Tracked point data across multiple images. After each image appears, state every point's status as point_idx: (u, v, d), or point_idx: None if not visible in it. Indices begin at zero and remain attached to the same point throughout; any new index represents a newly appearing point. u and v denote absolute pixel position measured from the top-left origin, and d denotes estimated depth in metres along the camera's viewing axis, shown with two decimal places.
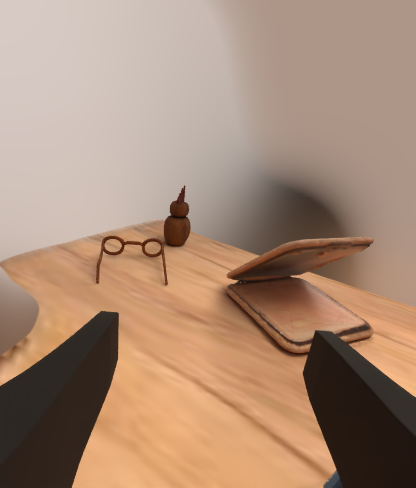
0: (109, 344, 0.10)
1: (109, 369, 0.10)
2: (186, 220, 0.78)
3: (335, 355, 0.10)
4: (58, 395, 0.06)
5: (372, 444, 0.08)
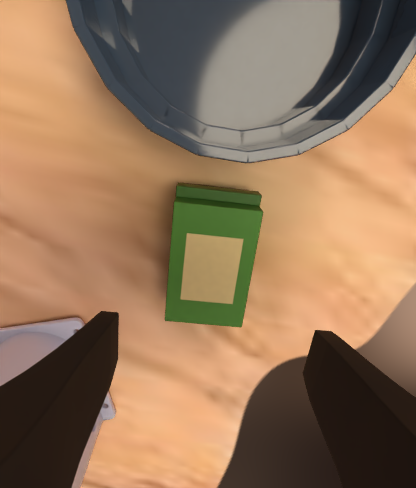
0: (109, 344, 0.10)
1: (109, 369, 0.10)
2: None
3: (334, 354, 0.10)
4: (58, 395, 0.06)
5: (372, 444, 0.08)
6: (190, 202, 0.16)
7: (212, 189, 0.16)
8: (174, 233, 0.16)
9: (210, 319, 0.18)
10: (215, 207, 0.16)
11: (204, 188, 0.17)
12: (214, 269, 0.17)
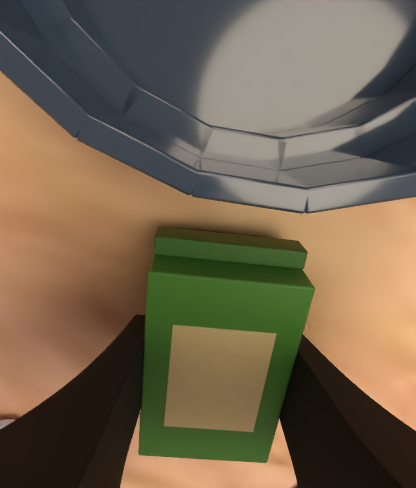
0: None
1: None
2: None
3: None
4: (117, 399, 0.07)
5: (321, 441, 0.08)
6: (178, 272, 0.08)
7: (220, 242, 0.09)
8: (150, 325, 0.09)
9: (214, 453, 0.11)
10: (226, 282, 0.08)
11: (205, 240, 0.09)
12: (223, 381, 0.10)
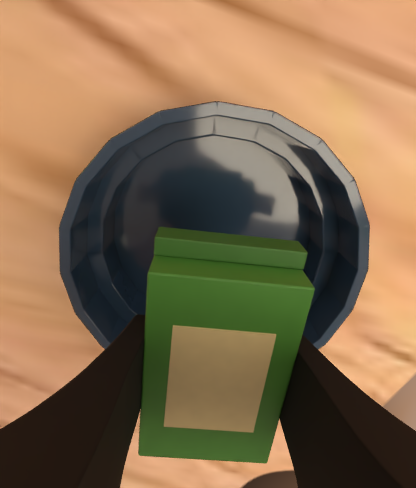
0: None
1: None
2: None
3: None
4: (117, 399, 0.07)
5: (321, 441, 0.08)
6: (178, 272, 0.08)
7: (220, 242, 0.09)
8: (150, 325, 0.09)
9: (214, 453, 0.11)
10: (226, 282, 0.08)
11: (205, 240, 0.09)
12: (223, 382, 0.10)
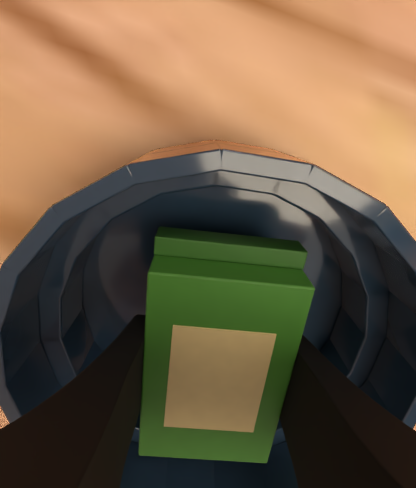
0: None
1: None
2: None
3: None
4: (117, 399, 0.07)
5: (321, 441, 0.08)
6: (178, 272, 0.08)
7: (220, 242, 0.09)
8: (150, 325, 0.09)
9: (214, 453, 0.11)
10: (226, 282, 0.08)
11: (205, 240, 0.09)
12: (223, 382, 0.10)
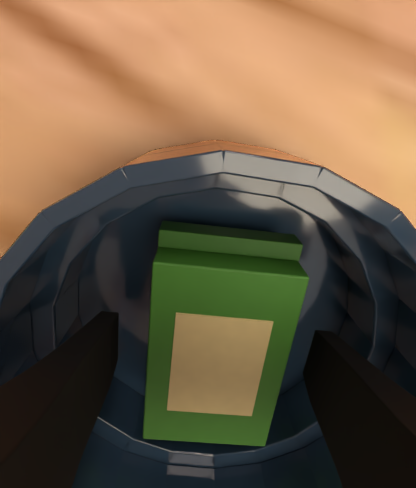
0: (109, 344, 0.10)
1: (109, 369, 0.10)
2: None
3: (335, 355, 0.10)
4: (58, 395, 0.06)
5: (372, 444, 0.08)
6: (181, 262, 0.09)
7: (220, 235, 0.10)
8: (154, 312, 0.09)
9: (215, 436, 0.11)
10: (226, 272, 0.09)
11: (206, 233, 0.10)
12: (223, 367, 0.10)
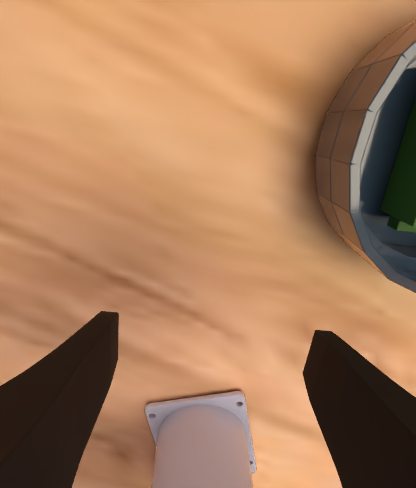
0: (109, 344, 0.10)
1: (109, 369, 0.10)
2: None
3: (334, 355, 0.10)
4: (58, 395, 0.06)
5: (372, 444, 0.08)
6: None
7: None
8: None
9: None
10: None
11: None
12: None
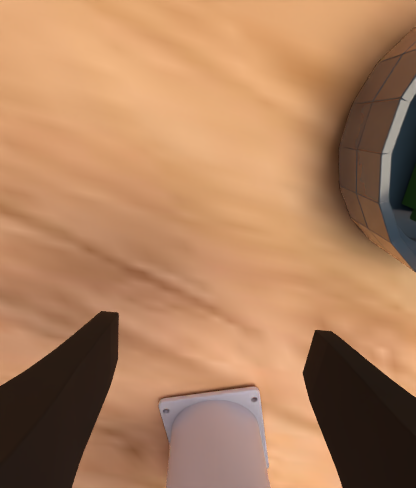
0: (109, 344, 0.10)
1: (109, 369, 0.10)
2: None
3: (334, 355, 0.10)
4: (58, 395, 0.06)
5: (372, 444, 0.08)
6: None
7: None
8: None
9: None
10: None
11: None
12: None
